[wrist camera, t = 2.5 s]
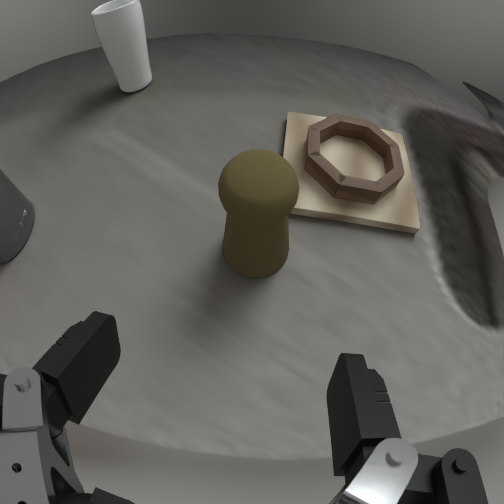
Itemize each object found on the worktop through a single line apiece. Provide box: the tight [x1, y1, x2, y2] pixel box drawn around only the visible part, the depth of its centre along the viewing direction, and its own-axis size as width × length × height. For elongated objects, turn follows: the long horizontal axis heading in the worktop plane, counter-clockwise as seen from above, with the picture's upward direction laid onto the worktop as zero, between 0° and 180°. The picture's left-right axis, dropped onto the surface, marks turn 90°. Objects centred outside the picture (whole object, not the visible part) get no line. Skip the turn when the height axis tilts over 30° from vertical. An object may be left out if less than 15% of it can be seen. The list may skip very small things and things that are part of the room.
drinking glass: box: [91, 0, 152, 92], centre depth 32 cm, size 7×7×15 cm
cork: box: [218, 150, 300, 278], centre depth 23 cm, size 6×6×11 cm
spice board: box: [283, 112, 420, 234], centre depth 30 cm, size 15×14×4 cm
